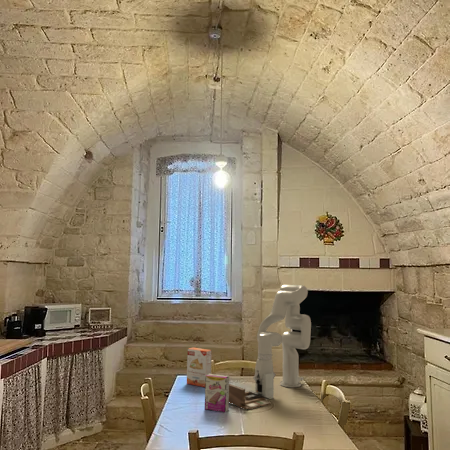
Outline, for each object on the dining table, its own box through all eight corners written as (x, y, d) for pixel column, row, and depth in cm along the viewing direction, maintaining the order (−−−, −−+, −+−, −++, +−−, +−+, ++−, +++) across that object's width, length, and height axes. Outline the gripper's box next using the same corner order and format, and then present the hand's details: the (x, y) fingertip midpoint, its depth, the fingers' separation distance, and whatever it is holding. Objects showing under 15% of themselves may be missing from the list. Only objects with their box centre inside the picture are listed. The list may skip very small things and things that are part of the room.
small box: (273, 398, 234) (274, 373, 236) (265, 400, 230) (265, 375, 232) (263, 394, 240) (263, 370, 242) (254, 396, 236) (255, 372, 238)
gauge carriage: (251, 394, 236) (251, 390, 237) (271, 401, 224) (271, 397, 224) (240, 396, 232) (240, 392, 232) (260, 404, 220) (260, 400, 220)
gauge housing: (247, 396, 237) (247, 379, 238) (270, 404, 223) (270, 386, 224) (224, 401, 227) (224, 383, 228) (247, 410, 213) (247, 391, 214)
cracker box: (186, 384, 259) (187, 348, 262) (192, 382, 265) (193, 346, 267) (205, 387, 252) (206, 351, 254) (211, 385, 257) (212, 349, 259)
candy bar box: (204, 409, 212) (204, 375, 214) (207, 407, 217) (208, 373, 219) (225, 412, 209) (226, 377, 210) (229, 409, 213) (229, 375, 215)
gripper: (271, 354, 246) (271, 386, 244) (248, 357, 235) (247, 391, 233) (280, 356, 240) (280, 389, 238) (257, 359, 229) (257, 394, 227)
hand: (264, 390), depth 236 cm, fingers closed on small box, 6 cm apart
